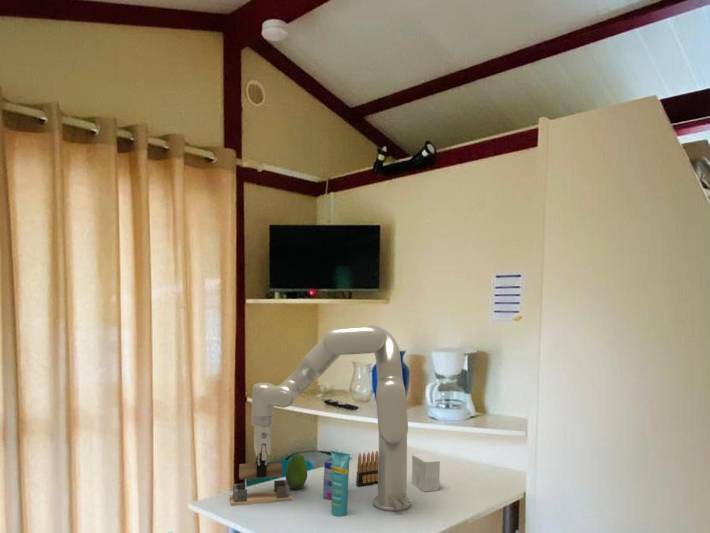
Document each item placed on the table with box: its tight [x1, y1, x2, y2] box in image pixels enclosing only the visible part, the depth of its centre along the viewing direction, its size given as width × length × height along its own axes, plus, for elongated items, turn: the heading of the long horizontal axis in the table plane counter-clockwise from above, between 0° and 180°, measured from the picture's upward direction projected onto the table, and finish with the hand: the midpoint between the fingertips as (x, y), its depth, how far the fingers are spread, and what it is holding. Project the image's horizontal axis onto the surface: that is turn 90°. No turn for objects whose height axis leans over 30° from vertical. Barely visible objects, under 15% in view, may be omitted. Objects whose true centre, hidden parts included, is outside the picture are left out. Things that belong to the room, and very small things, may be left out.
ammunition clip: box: [355, 450, 379, 488], centre depth 199 cm, size 11×2×12 cm, turn 116°
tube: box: [330, 449, 351, 517], centre depth 173 cm, size 7×5×19 cm, turn 62°
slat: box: [238, 461, 283, 480], centre depth 184 cm, size 4×14×4 cm, turn 107°
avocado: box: [285, 453, 308, 490], centre depth 194 cm, size 8×8×12 cm
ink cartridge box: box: [322, 451, 343, 500], centre depth 188 cm, size 10×6×14 cm, turn 160°
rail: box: [229, 479, 293, 507], centre depth 183 cm, size 7×20×4 cm, turn 107°
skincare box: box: [411, 453, 441, 493], centre depth 198 cm, size 10×6×10 cm, turn 20°
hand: (260, 474), depth 183 cm, fingers closed on slat, 3 cm apart
